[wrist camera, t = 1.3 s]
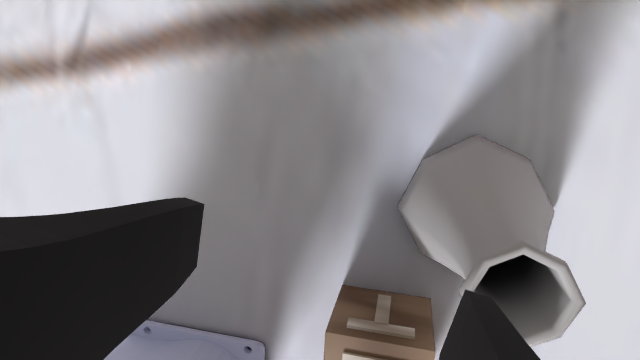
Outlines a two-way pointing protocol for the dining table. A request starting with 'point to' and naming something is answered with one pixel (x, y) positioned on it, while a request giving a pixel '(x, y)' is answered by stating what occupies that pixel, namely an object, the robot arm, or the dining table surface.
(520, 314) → the flask
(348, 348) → the lettered block
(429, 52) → the dining table surface
